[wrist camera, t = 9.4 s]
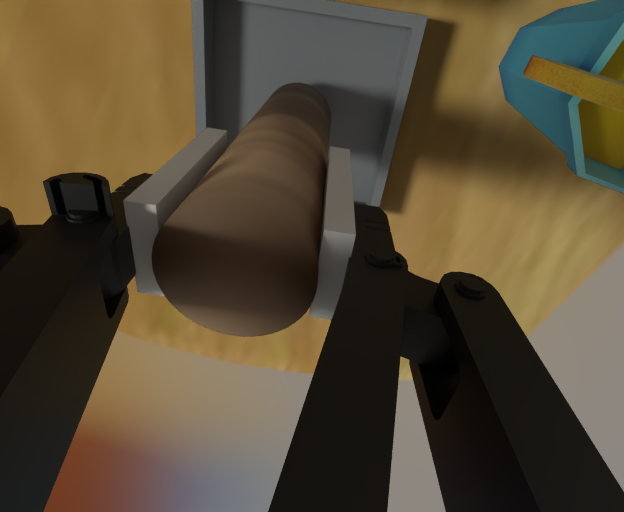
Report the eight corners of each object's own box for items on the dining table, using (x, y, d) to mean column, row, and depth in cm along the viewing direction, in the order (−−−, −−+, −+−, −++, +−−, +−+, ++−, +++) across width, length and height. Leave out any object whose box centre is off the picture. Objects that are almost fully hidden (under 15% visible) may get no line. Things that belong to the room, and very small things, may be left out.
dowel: (266, 77, 21) (142, 187, 8) (336, 88, 21) (330, 215, 8) (262, 146, 23) (159, 325, 10) (325, 156, 24) (306, 346, 10)
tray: (205, -19, 21) (190, -22, 19) (419, 15, 21) (428, 16, 19) (209, 184, 27) (198, 198, 25) (372, 208, 27) (374, 224, 25)
